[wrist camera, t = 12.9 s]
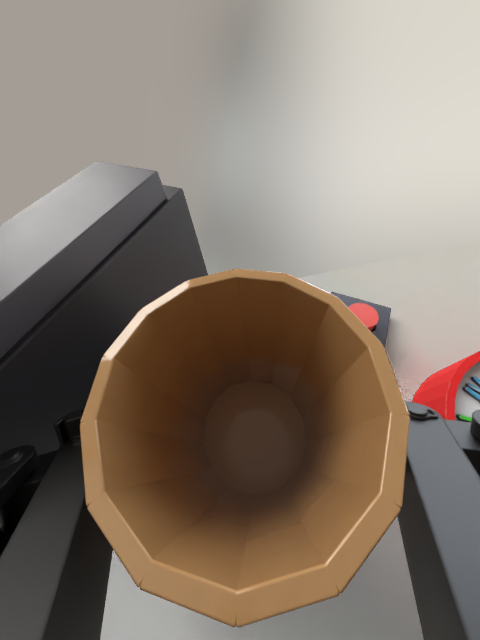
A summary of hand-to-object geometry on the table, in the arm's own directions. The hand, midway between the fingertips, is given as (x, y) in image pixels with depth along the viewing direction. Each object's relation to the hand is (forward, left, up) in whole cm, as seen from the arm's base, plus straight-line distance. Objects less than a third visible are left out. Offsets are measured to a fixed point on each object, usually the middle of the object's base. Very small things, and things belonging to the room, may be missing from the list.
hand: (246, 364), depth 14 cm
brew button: (+8, +14, -12) cm, 20 cm away
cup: (+2, -3, -4) cm, 5 cm away
